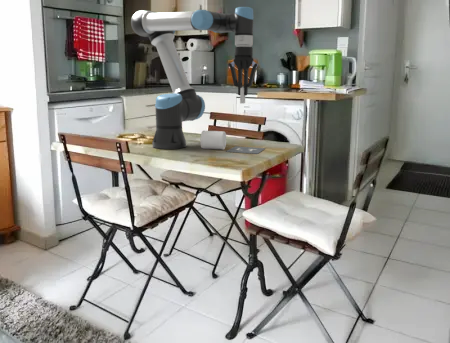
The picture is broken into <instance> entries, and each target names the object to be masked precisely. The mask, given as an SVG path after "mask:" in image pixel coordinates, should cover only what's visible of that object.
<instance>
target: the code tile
mask: <svg viewBox="0 0 450 343" xmlns="http://www.w3.org/2000/svg"><path fill="white" fill-rule="evenodd" d="M265 149H266V147H253V146H250V147H249V146H239V145H238V146H237V145H235V146H233V147H231V148H230V149H228V150H226V151H225V153H226V152H227V153H239V154H251V155H252V154H254V155H259V154H260V153H261V152H262V151H264V150H265Z"/></svg>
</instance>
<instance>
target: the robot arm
mask: <svg viewBox="0 0 450 343" xmlns="http://www.w3.org/2000/svg"><path fill="white" fill-rule="evenodd" d="M254 19H255V18H254V8H252V7H249V6H238V7H235V10H234V12H233V13H222V12H217V11H210V10H207V9H197V10H190V11H169V12H166V11H165V12H162V11H152V10H146V9H144V10H143V9H141V10H137V11H135V13H134V14H132V16H131V19H130V25H131V29H132V30H133V32H134V33H135V34H136V35H138V36H140V37H144V38H148V39H149V41H150V44H151V45H152V46H154V47H155V48H156V50H157V53H158V56H159V58H160V61H161V64H162V66H163V69H164V73H165V74H166V75H165V76H166V77H167V80H168V82H169V85H170V87H171V90H172V93H165V94H164V93H163V94H160V95H158V96H157V97H156V98H155V105H154V107H155V132H154V136H153V139H152V147H153V148H155V149H161V150H174V149H176V150H177V149H183V148H186V147H187V140H186V137H185V135H184V131H183V122H188V121H189V122H191V121H195V120H199V119H200V118H201V117H202V116H203V115H204V113H205V109H206V103H205V100H204V98H203V97H202V96H200V95H199V94H197V92H196V90H195V88H194V87H192V86H190V83H189V80H188V77H187V75H186V72H185V68H184V66H183V63H182V61H181V58H180V56H179V53H178V51H177V47H176V44H175V43H174V40H175V32H176V31H177V32H178V31H182V32H183V31H209V32H210V31H211V32H213V33H215V34H216V33H219V34H222V33H234V46H235V47H234V58H233V61H232V62H230V63H228V64H227V65H228V67H229V69H230V72H231V78H232V82H233V86H234V87H236V88H237V95H238V96H239V103H240V104H246V96H248V89H249V88H250V87H252V86H253V83H254V80H255V75H256V70H257V69H258V67H259V66H260V65H259V63H257V62H255V60H254V58H253V55H254V54H253V48H254V47H253V43H254V34H253V33H254ZM235 67H236V68H237V72H236V68H235ZM250 68H251V71H250V74H249V70H250ZM249 75H250V76H249Z"/></svg>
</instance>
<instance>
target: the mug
mask: <svg viewBox="0 0 450 343" xmlns="http://www.w3.org/2000/svg"><path fill="white" fill-rule="evenodd" d="M199 140H200V141H199V142H200V148H201V149H203V150H204V149H205V150H225V149H226V145H227V133H226V132H225V131H224V130H223V131H219V130H202V131H201V133H200V138H199Z"/></svg>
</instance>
